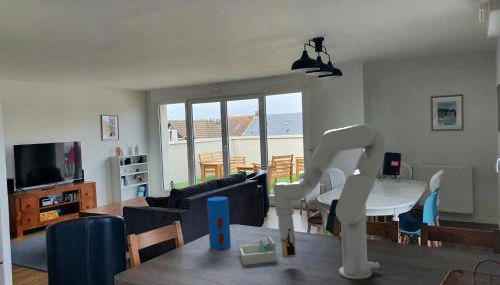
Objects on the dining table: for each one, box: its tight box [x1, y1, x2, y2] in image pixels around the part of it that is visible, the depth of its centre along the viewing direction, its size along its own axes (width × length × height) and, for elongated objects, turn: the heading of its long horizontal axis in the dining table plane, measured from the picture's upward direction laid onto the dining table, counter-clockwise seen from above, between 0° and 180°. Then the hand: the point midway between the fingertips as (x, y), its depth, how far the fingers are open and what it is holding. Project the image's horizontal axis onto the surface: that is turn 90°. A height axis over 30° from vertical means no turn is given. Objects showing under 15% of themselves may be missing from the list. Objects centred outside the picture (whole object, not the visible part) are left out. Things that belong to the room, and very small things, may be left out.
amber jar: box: [280, 236, 297, 259], centre depth 166 cm, size 6×6×8 cm
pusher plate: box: [259, 239, 267, 253], centre depth 179 cm, size 1×11×6 cm, turn 8°
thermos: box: [206, 196, 231, 251], centre depth 198 cm, size 11×11×25 cm
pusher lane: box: [238, 235, 277, 266], centre depth 179 cm, size 15×14×8 cm
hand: (289, 252), depth 166 cm, fingers closed on amber jar, 6 cm apart
